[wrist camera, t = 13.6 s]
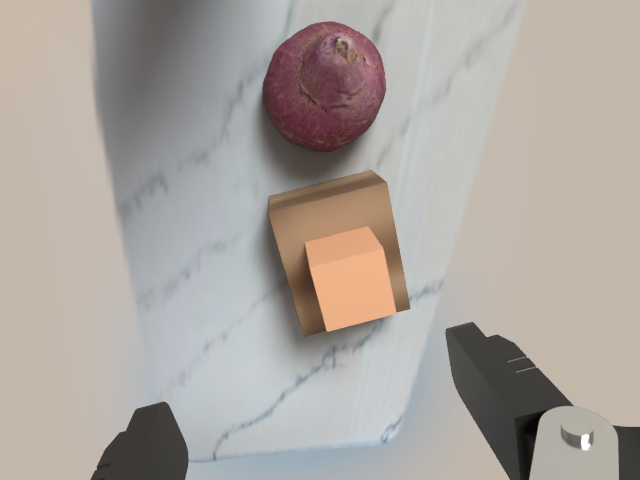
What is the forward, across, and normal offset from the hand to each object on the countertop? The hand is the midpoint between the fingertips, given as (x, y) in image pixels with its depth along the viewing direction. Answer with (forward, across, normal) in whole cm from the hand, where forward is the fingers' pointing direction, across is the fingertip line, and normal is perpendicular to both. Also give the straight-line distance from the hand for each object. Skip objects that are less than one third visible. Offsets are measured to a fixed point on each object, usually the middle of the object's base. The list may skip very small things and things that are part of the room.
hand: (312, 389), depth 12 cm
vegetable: (+30, -5, -7) cm, 32 cm away
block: (+24, -3, +7) cm, 25 cm away
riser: (+30, -3, +7) cm, 31 cm away
